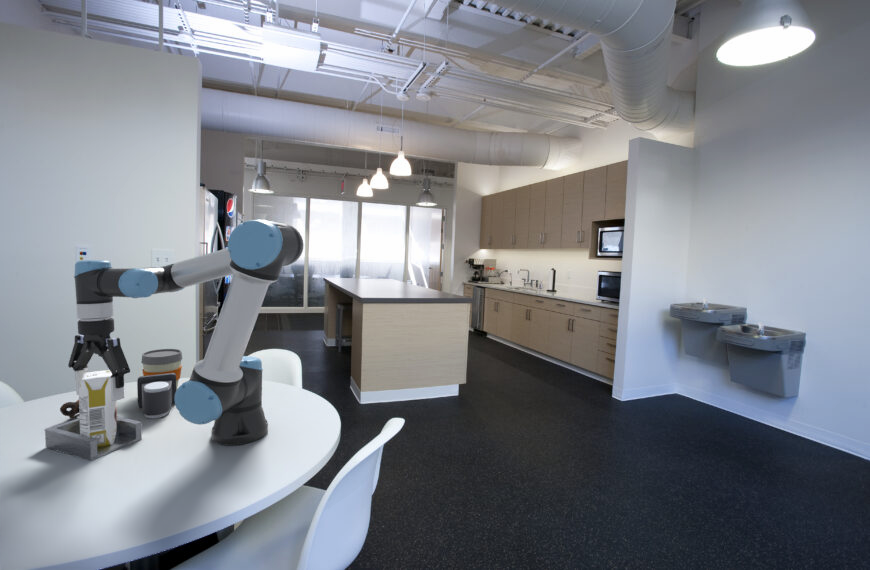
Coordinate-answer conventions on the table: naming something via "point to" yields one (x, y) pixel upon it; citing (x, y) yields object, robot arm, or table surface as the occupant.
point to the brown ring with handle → (73, 411)
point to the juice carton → (97, 408)
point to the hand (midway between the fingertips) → (100, 396)
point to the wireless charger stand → (156, 394)
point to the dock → (86, 447)
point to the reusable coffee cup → (162, 362)
